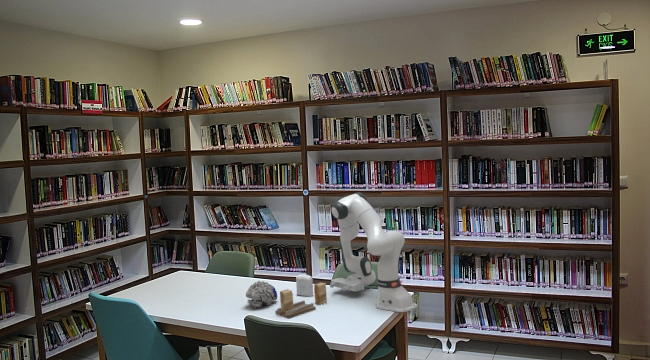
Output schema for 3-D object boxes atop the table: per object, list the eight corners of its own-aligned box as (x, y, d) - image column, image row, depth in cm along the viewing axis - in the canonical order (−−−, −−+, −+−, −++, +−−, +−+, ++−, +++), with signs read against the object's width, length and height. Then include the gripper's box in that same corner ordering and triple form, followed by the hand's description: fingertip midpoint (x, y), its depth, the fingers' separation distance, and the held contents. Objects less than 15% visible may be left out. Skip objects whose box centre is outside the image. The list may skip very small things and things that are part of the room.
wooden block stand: (315, 309, 279) (314, 286, 278) (289, 318, 268) (287, 294, 267) (301, 305, 288) (300, 283, 287) (275, 313, 277) (273, 290, 276)
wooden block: (326, 302, 290) (325, 283, 289) (319, 305, 286) (318, 285, 285) (322, 301, 293) (321, 282, 292) (314, 303, 289) (313, 284, 288)
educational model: (278, 313, 294) (284, 287, 298) (256, 307, 279) (263, 279, 283) (259, 309, 302) (266, 283, 306) (237, 303, 286) (244, 276, 291)
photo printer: (314, 295, 306) (313, 274, 305) (310, 297, 302) (309, 276, 301) (299, 293, 311) (298, 273, 310) (295, 295, 307) (294, 274, 306)
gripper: (341, 274, 314) (323, 279, 305) (365, 279, 298) (348, 285, 289) (341, 284, 314) (324, 289, 305) (366, 290, 299) (348, 296, 290)
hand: (336, 287), depth 297 cm, fingers open, 8 cm apart
